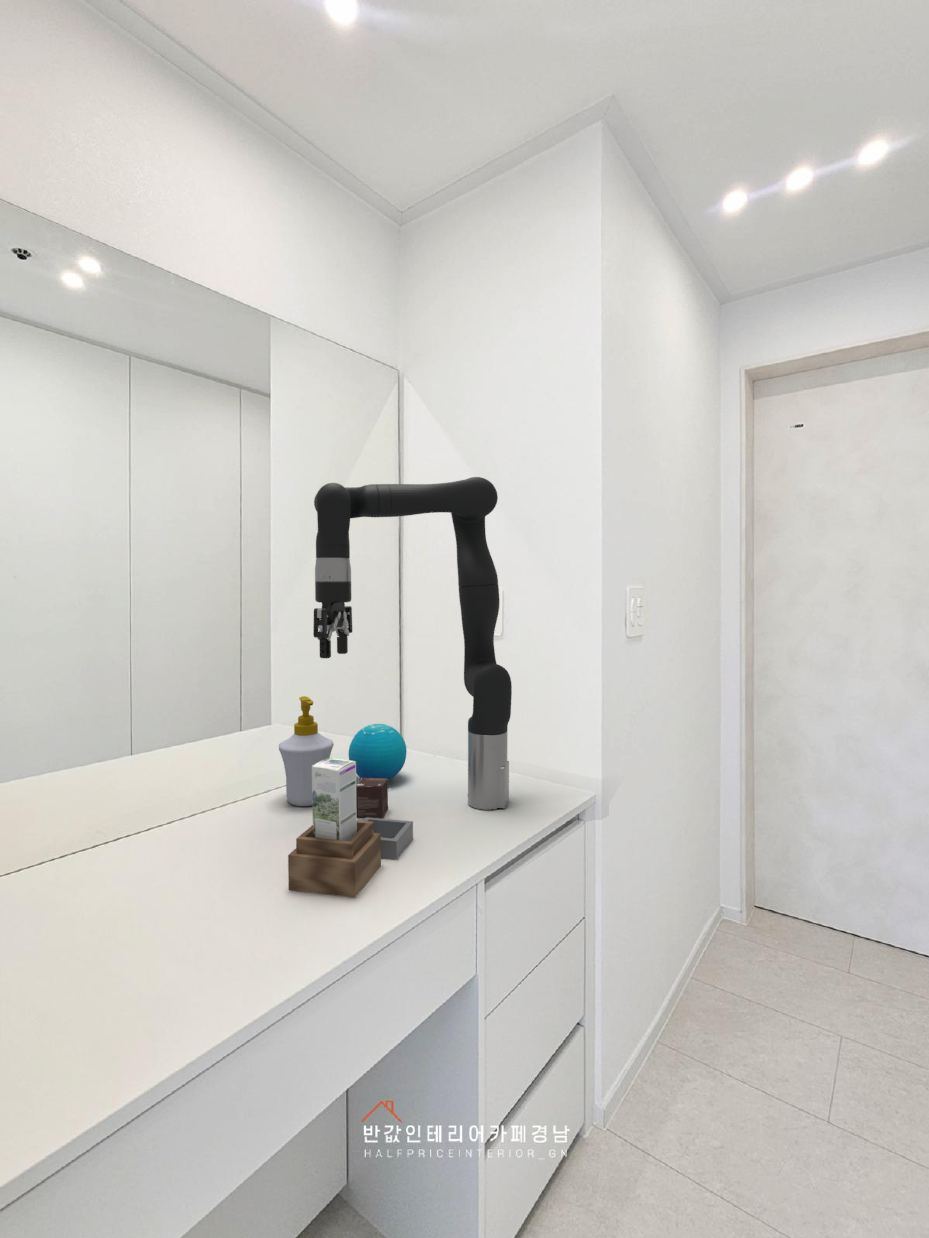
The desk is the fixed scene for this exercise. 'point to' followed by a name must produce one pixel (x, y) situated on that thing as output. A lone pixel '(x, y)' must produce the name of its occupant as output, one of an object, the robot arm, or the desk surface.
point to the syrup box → (334, 799)
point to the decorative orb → (378, 751)
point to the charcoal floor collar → (392, 835)
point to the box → (372, 797)
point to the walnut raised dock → (335, 862)
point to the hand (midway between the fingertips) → (334, 655)
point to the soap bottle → (303, 756)
